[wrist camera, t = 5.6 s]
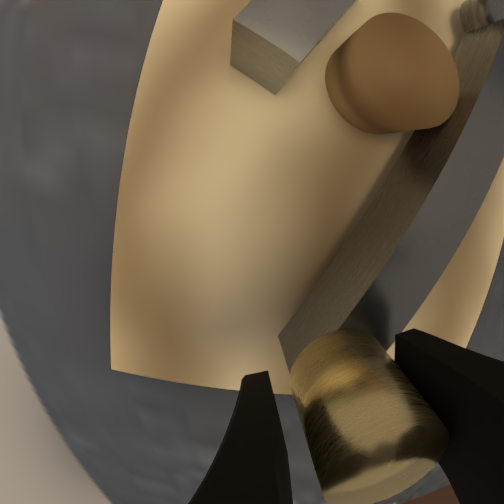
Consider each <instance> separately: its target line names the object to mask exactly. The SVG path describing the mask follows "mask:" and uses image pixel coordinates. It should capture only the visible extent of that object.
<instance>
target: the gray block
mask: <svg viewBox="0 0 504 504" xmlns="http://www.w3.org/2000/svg"><path fill="white" fill-rule="evenodd" d="M356 1H357V0H251V1H250V2H249V3H248V4H247V5H246V6H245V7H244V8H243V9H242V10H241V11H240V12H239V13H238V14H237V15H236V16H235V17H234V18H233V22H232V38H231V55H230V66H232V67H233V68H235V69H237V70H238V71H240V72H241V73H243V74H244V75H246V76H247V77H249V78H250V79H252V80H253V81H255V82H256V83H258V84H259V85H261V86H262V87H264V88H265V89H266V90H268V91H269V92H271V93H272V94H274V95H275V96H276V94H277V93H278V92H279V91H280V89H281V88H282V87H283V86H284V84H285V83H286V82H287V81H288V79H289V78H290V77H291V76H292V75H293V73H294V72H295V71H296V70H297V68H298V67H299V66H300V65H301V64H302V62H303V61H304V60H305V59H306V58H307V56H308V55H309V54H310V53H311V52H312V51H313V49H314V48H315V47H316V46H317V45H318V44H319V42H320V41H321V40H322V39H323V38H324V37H325V36H326V34H327V33H328V32H329V31H330V30H331V29H332V28H333V27H334V25H335V24H336V23H337V22H338V21H339V20H340V19H341V18H342V17H343V15H344V14H345V13H346V12H347V11H348V10H349V9H350V8H351V7H352V6H353V5H354V3H355V2H356Z"/></svg>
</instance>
